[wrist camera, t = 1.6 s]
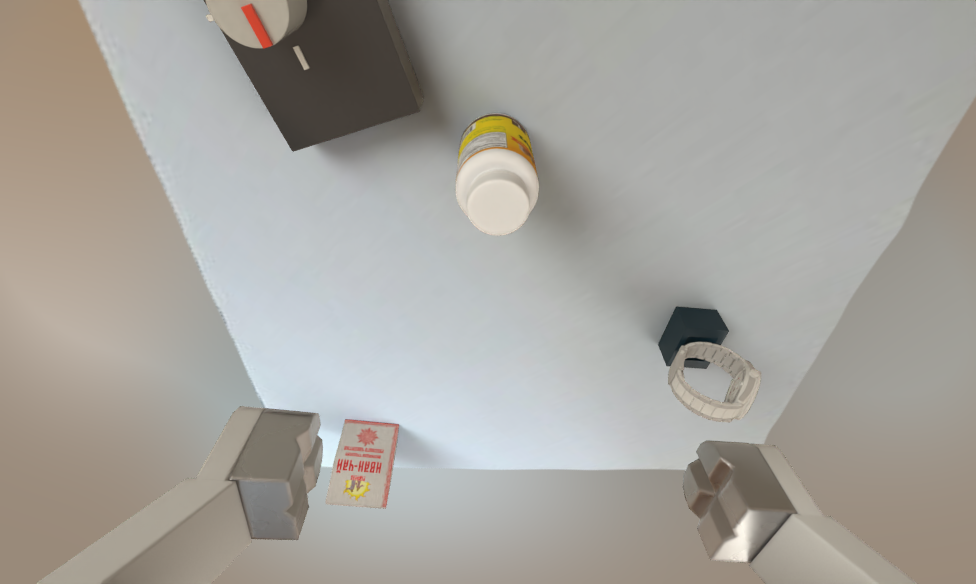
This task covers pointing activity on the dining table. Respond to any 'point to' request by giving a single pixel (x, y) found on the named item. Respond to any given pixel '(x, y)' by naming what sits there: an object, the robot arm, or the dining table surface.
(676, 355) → the watch
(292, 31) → the knob
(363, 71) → the hob
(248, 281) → the dining table surface
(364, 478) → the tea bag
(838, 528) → the robot arm
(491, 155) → the supplement bottle
